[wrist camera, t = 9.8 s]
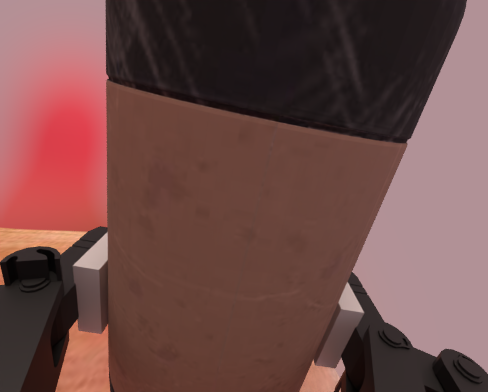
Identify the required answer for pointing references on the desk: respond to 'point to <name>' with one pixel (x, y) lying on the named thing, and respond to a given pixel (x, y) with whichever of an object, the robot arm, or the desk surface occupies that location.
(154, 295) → the travel mug
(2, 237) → the desk surface
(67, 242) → the desk surface
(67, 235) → the desk surface
